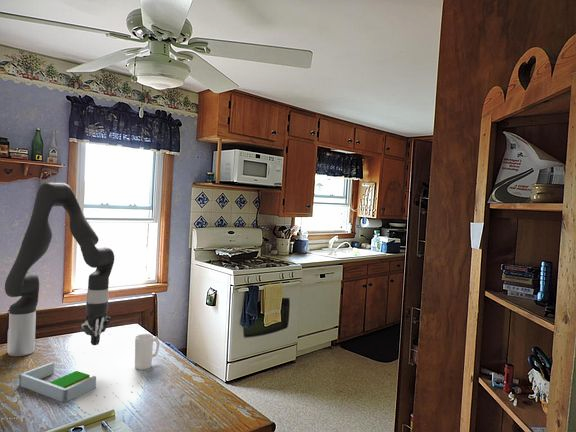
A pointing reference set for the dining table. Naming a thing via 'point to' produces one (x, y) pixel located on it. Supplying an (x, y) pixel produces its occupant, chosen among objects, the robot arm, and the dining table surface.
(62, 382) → the dish sponge
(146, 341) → the mug
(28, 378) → the frame
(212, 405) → the dining table surface
